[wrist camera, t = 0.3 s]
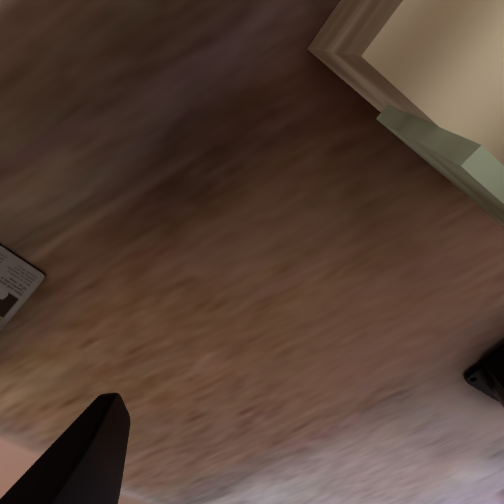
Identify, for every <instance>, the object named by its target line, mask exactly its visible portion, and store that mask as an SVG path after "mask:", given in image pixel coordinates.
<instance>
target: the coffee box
mask: <svg viewBox="0 0 504 504" xmlns="http://www.w3.org/2000/svg"><path fill="white" fill-rule="evenodd" d="M44 278H45V276H44V275H43V274H42V273H41V272H39V271H38V270H36V269H35V268H33V267H32V266H30V265H29V264H27V263H26V262H24V261H23V260H21V259H20V258H18V257H17V256H15V255H14V254H12V253H11V252H9V251H8V250H6V249H5V248H3V247H2V246H0V333H1V331H2V330H3V329H4V328H5V327H6V325H7V324H8V323H9V322H10V320H11V319H12V318H13V317H14V315H15V314H16V313H17V312H18V310H19V309H20V308H21V307H22V305H23V304H24V303H25V302H26V301H27V299H28V298H29V297H30V296H31V295H32V293H33V292H34V291H35V290H36V288H37V287H38V286H39V285H40V283H41V282H42V281H43V280H44Z"/></svg>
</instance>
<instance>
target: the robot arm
mask: <svg viewBox="0 0 504 504" xmlns="http://www.w3.org/2000/svg"><path fill="white" fill-rule="evenodd" d="M464 379H465V380H466V382H467V383H468V384H470V385H471V386H473V387H475V388H477V389H478V390H480V391H482V392H483V393H485V394H487V395H488V396H490V397H492V398H494V399H495V400H497V401H499V402H500V403H501V405H502V406H503V407H504V345H503V346H502V347H500V348H499V349H498V350H496V351H495V352H494V353H492V354H491V355H489V356H488V357H487V358H485V359H484V360H483V361H481V362H480V363H479V364H477V365H476V366H474V367H473V368H472V369H470V370H469V371H468V372H466V373H465V374H464ZM129 430H130V416H129V413H128V411H127V409H126V406H125V404H124V402H123V400H122V398H121V396H120V394H118V393H107V394H101V395H100V396H98V397H97V398H96V399H95V400H94V401H93V402H92V403H91V404H90V405H89V406H88V407H87V408H86V409H85V411H84V412H83V413H82V414H81V415H80V416H79V417H78V418H77V419H76V420H75V421H74V422H73V423H72V424H71V425H70V426H69V427H68V428H67V429H66V431H65V432H64V433H63V434H62V435H61V436H60V437H59V438H58V439H57V440H56V441H55V442H54V443H53V444H52V445H51V446H50V447H49V448H48V449H47V450H46V452H45V453H44V454H43V455H42V456H41V457H40V458H39V459H38V460H37V461H36V462H35V463H34V464H33V465H32V466H31V467H30V468H29V470H27V472H26V473H25V474H24V475H23V476H22V477H21V478H20V479H19V480H18V481H17V482H16V483H15V484H14V485H13V486H12V487H11V488H10V489H9V490H8V491H7V492H6V494H5V495H4V496H3V497H2V498H1V499H0V504H118V499H119V495H120V489H121V484H122V477H123V470H124V464H125V457H126V450H127V443H128V437H129Z"/></svg>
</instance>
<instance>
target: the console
mask: <svg viewBox="0 0 504 504" xmlns="http://www.w3.org/2000/svg"><path fill="white" fill-rule="evenodd" d="M307 50H309V51H310V52H311V53H312V54H313V55H314V56H316V57H317V58H318V59H319V60H320V61H321V62H323V63H324V64H325V65H326V66H327V67H328V68H330V69H331V70H332V71H333V72H334V73H335V74H337V75H338V76H339V77H340V78H341V79H342V80H344V81H345V82H346V83H347V84H348V85H349V86H351V87H352V88H353V89H354V90H355V91H356V92H358V93H359V94H360V95H361V96H362V97H363V98H365V99H366V100H367V101H368V102H369V103H370V104H372V105H373V106H374V107H375V108H376V109H377V110H379V111H380V112H381V113H380V114H379V116H378V117H377V118H376V119H377V120H378V121H379V122H380V123H382V124H383V125H384V126H385V127H386V128H388V129H389V130H390V131H391V132H392V133H394V134H395V135H396V136H397V137H398V138H399V139H401V140H402V141H403V142H404V143H405V144H407V145H408V146H409V147H410V148H411V149H412V150H414V151H415V152H416V153H417V154H418V155H420V156H421V157H422V158H423V159H424V160H425V161H427V162H428V163H429V164H430V165H431V166H433V167H434V168H435V169H436V170H437V171H438V172H440V173H441V174H442V175H443V176H444V177H446V178H447V179H448V180H449V181H450V182H451V183H453V184H454V185H455V186H456V187H457V188H459V189H460V190H461V191H462V192H463V193H464V194H466V195H467V196H468V197H469V198H470V199H472V200H473V201H474V202H475V203H476V204H477V205H479V206H480V207H481V208H482V209H483V210H485V211H486V212H487V213H488V214H489V215H491V216H492V217H493V218H494V219H495V220H496V221H498V222H499V223H500V224H501V225H502V226H504V0H340V1H339V3H338V4H337V6H336V7H335V9H334V10H333V12H332V13H331V15H330V16H329V18H328V19H327V21H326V22H325V24H324V25H323V26H322V28H321V29H320V31H319V32H318V34H317V35H316V37H315V38H314V40H313V41H312V43H311V44H310V46H309V47H308V49H307Z"/></svg>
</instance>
